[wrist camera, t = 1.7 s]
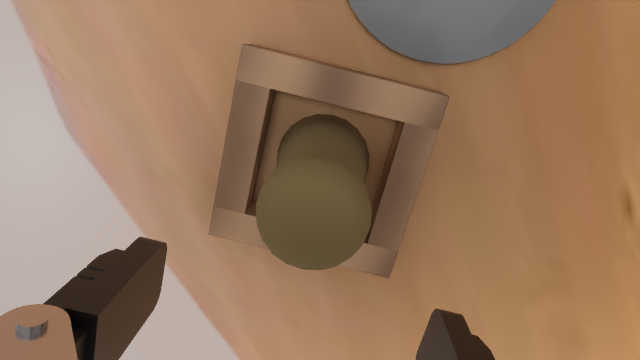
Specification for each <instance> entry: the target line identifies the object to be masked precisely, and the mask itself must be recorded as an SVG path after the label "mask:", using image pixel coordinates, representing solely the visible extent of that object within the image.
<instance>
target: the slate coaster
mask: <svg viewBox="0 0 640 360" xmlns="http://www.w3.org/2000/svg"><path fill="white" fill-rule="evenodd" d="M555 1H556V0H348V2H349V4H350V6H351V8H352V10H353V12H354V13H355V15H356V16H357V18H358V19H359V21H360V22H361V23H362V24H363V26H364V27H365V28H366V29H367V30H368V32H369V33H371V34H372V35H373V36H374V37H375V38H376V39H377V40H378V41H379V42H381V43H382V44H384V45H385V46H387V47H388V48H390V49H391V50H393V51H395V52H397V53H399V54H401V55H404V56H407V57H410V58H413V59H416V60H420V61H425V62H431V63H444V64H451V63H462V62H467V61H472V60H476V59H480V58H483V57H486V56H488V55H491V54H494V53H496V52H498V51H500V50H502V49H504V48H506V47H507V46H509V45H510V44H512V43H514V42H515V41H517V40H518V39H520V38H521V37H522V36H523V35H525V34H526V33H527V32H528V31H529V30H531V29H532V28H533V27H534V26H535V25H536V24H537V23H538V22H539V21H540V20H541V19H542V18H543V16H544V15H545V14H546V13H547V12H548V10H549V9H550V8H551V6H552V5H553V4H554V2H555Z"/></svg>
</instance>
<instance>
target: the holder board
mask: <svg viewBox="0 0 640 360" xmlns="http://www.w3.org/2000/svg"><path fill="white" fill-rule="evenodd" d="M275 90H278V91H282V92H286V93H290V94H294V95H298V96H302V97H306V98H310V99H314V100H318V101H322V102H326V103H330V104H334V105H338V106H342V107H346V108H350V109H354V110H358V111H362V112H366V113H369V114H373V115H377V116H381V117H385V118H389V119H393V120H397V121H398V123H397V126H396V130H395V133H394V136H393V140H392V143H391V146H390V150H389V153H388V156H387V160H386V163H385V166H384V169H383V173H382V176H381V179H380V183H379V186H378V189H377V193H376V196H375V199H374V203H373V206H372V217H371V227H370V229H369V231H368V234H367V236H366V238H365V241H364V243H363V245H362V246H361V247H360V249H359V250H358V251H357V252H356V253H355V254H354V255H353V256H352V257H351V258H350V259H348V260H347V261H345V262H343V263H341V264H340V265H338V266H340V267H345V268H349V269H353V270H357V271H361V272H365V273H369V274H373V275H378V276H382V277H386V278H389V277H390V274H391V271H392V268H393V265H394V262H395V259H396V256H397V253H398V250H399V247H400V244H401V241H402V238H403V235H404V232H405V229H406V226H407V223H408V220H409V217H410V214H411V211H412V208H413V205H414V202H415V199H416V196H417V193H418V190H419V187H420V184H421V181H422V178H423V175H424V172H425V169H426V166H427V163H428V160H429V157H430V154H431V151H432V148H433V145H434V142H435V139H436V136H437V134H438V131H439V128H440V125H441V122H442V119H443V116H444V113H445V110H446V107H447V104H448V101H449V98H450V97H449V96H447V95H445V94H443V93H441V92H437V91H433V90H429V89H425V88H421V87H418V86H414V85H410V84H406V83H402V82H398V81H394V80H390V79H386V78H382V77H378V76H374V75H370V74H366V73H362V72H359V71H355V70H351V69H347V68H343V67H339V66H335V65H331V64H327V63H323V62H319V61H315V60H311V59H307V58H303V57H299V56H296V55H292V54H288V53H284V52H280V51H276V50H272V49H268V48H264V47H260V46H256V45H252V44H242V48H241V54H240V60H239V65H238V71H237V77H236V82H235V88H234V94H233V99H232V105H231V111H230V116H229V122H228V128H227V133H226V139H225V145H224V150H223V156H222V162H221V167H220V173H219V179H218V184H217V190H216V196H215V201H214V207H213V213H212V218H211V224H210V230H209V235H213V236H217V237H221V238H225V239H229V240H233V241H237V242H242V243H246V244H250V245H254V246H258V247H262V248H266V249H269V248H268V247H267V246H266V245H265V243H264V242H263V241H262V238H261V235H260V232H259V230H258V227H257V222H256V201H252V200H253V195H254V190H255V185H256V180H257V176H258V171H259V166H260V161H261V156H262V151H263V147H264V142H265V137H266V132H267V127H268V122H269V117H270V113H271V108H272V103H273V98H274V93H275Z"/></svg>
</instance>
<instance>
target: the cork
mask: <svg viewBox="0 0 640 360" xmlns="http://www.w3.org/2000/svg"><path fill="white" fill-rule="evenodd" d="M368 163H369V153H368V149H367V145H366V141H365V140H364V138H363V137H362V135H361V134H360V132H359V131H358V129H357V128H356V127H354V126H353V125H352V124H350V123H349V122H348V121H347V120H345V119H342V118H339V117H337V116H334V115H324V114H316V115H313V116H309V117H306V118H303V119H301V120H300V121H298V122H297V123H295V124H294V125H292V126H291V127H290V128H289V130H288V131H287V132H286V134H285V135H284V136H283V138H282V140H281V143H280V146H279V149H278V157H277V169H275V170H274V171H273V172H272V174H271V175H270V176H269V178H268V179H267V180H266V181H265V183H264V184H263V186H262V188H261V190H260V193H259V196H258V199H257V202H256V222H257V227H258V230H259V232H260V235H261V238H262V241H263V242H264V243H265V245H266V246H267V247H268V248H269V250H270V251H271V252H272V254H274V255H275V256H276V257H278V258H279V259H281V260H282V261H283V262H285V263H286V264H289V265H292V266H295V267H298V268H300V269H307V270H323V269H327V268H331V267H336V266H338V265H340V264H341V263H343V262H345V261H347V260H348V259H350V258H351V257H352V256H353V255H354V254H355V253H356V252H357V251H358V250H359V249H360V247H361V246H362V245H363V243H364V241H365V238H366V236H367V234H368V231H369V229H370V227H371V217H372V207H371V203H370V199H369V195H368V191H367V188H366V186H365V185H364V182H365V178H366V175H367V171H368Z"/></svg>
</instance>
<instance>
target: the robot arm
mask: <svg viewBox="0 0 640 360" xmlns="http://www.w3.org/2000/svg"><path fill="white" fill-rule="evenodd" d="M166 253H167V244H166V243H164V242H160V241H156V240H152V239H148V238H144V237H139V238H137V239H136V240H135V241H134V242H133V243H132V244H131V245H130V246H129V247H128V248H127V249H126V250H125V251H123V250H118V249H115V250H112V251H109V252H107V253H104V254H102V255H99V256H98V257H97V258H96V259H94V260H93V261H92V262H91V263H90V264H89V265H88V266H87V268H84V269H83V270H82V271H81V272H79V273H78V274H77V277H74V278H72V279H71V280H70V281H69V282H68V283H67V284H66V285H65V286H63V287H62V288H61V289H60V290H59V291H57V292H56V293H55V294H54V295H53V296H52V297H51V298H50V299H48V300H47V301H46V302H45V303H44V304H35V305H28V306H23V307H19V308H16V309H13V310H11V311H9V312H7V313H5V314H3V315H2V316H0V360H118V359H119V358H120V357H121V355H122V354H123V352H124V351H125V349H126V348H127V347H128V345H129V344H130V343H131V341H132V340H133V338H134V337H135V335H136V334H137V332H138V331H139V330H140V328H141V327H142V326H143V324H144V323H145V321H146V320H147V318H148V317H149V316H150V314H151V313H152V311H153V310H154V308H155V306H156V304H157V301H158V299H159V295H160V291H161V286H162V279H163V273H164V266H165V260H166ZM416 360H495V358H494V356H493V354H492V352H491V350H490V349H489V348H488V347H487V346H486V345H485V344H484V343H483V342H482V340H481V339H480V338H479V337H478V336H475V335H472V334H471V332H470V330H469V328H468V326H467V323H466V321H465V319H464V317H463V316H462V315H461V314H457V313H453V312H449V311H445V310H440V309H435V310H434V311H433V313H432V315H431V317H430V320H429V322H428V325H427V328H426V330H425V333H424V336H423V338H422V341H421V343H420V346H419V349H418V351H417V355H416Z"/></svg>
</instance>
